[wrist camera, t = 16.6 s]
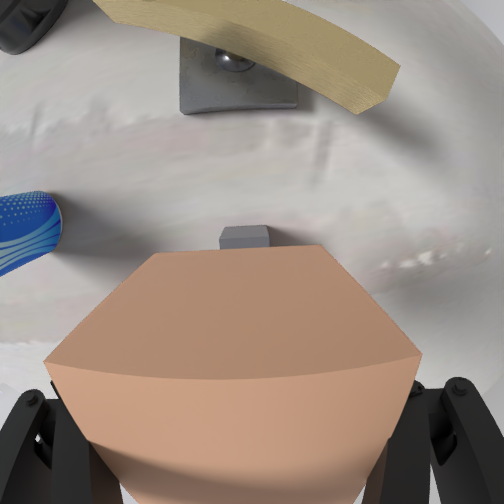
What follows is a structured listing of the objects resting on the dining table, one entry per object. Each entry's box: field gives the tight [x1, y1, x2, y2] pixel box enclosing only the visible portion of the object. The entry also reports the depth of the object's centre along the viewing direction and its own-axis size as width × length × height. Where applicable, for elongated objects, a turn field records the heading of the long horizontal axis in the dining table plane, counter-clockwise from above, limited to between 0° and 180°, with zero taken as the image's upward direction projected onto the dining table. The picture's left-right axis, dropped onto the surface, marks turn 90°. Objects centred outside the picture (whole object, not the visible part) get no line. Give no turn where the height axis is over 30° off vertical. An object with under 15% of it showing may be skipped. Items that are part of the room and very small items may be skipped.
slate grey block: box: [219, 225, 270, 250], centre depth 28 cm, size 4×4×6 cm
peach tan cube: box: [43, 245, 422, 504], centre depth 10 cm, size 8×8×9 cm
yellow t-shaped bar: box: [93, 0, 400, 115], centre depth 18 cm, size 26×4×10 cm, turn 63°
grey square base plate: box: [180, 36, 298, 115], centre depth 25 cm, size 12×12×2 cm
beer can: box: [0, 191, 63, 277], centre depth 22 cm, size 8×8×16 cm
